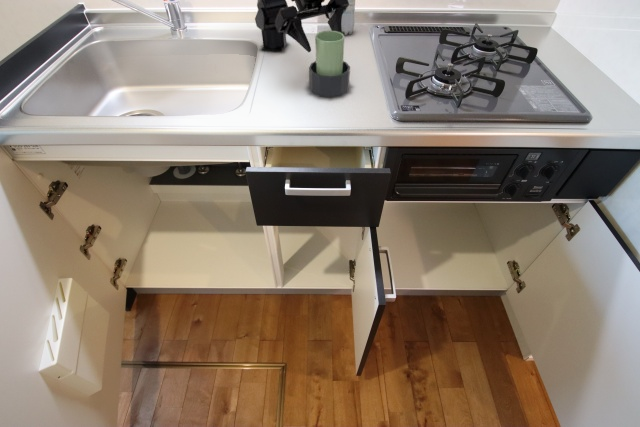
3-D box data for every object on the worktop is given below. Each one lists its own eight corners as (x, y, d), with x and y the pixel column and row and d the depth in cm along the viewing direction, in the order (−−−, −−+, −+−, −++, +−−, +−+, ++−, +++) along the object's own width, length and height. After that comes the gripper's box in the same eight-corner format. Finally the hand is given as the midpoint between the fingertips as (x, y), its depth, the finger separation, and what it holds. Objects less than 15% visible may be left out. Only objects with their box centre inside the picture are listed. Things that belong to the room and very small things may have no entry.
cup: (313, 92, 88) (312, 40, 78) (319, 80, 92) (318, 29, 83) (339, 95, 87) (341, 43, 77) (343, 82, 91) (346, 31, 82)
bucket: (306, 95, 87) (305, 74, 83) (314, 77, 94) (314, 57, 89) (345, 99, 86) (346, 78, 81) (350, 80, 92) (352, 60, 88)
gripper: (275, -34, 70) (304, 38, 72) (347, -46, 77) (372, 21, 79) (263, -1, 81) (289, 62, 83) (327, -14, 87) (350, 44, 89)
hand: (325, 47), depth 83 cm, fingers open, 9 cm apart
